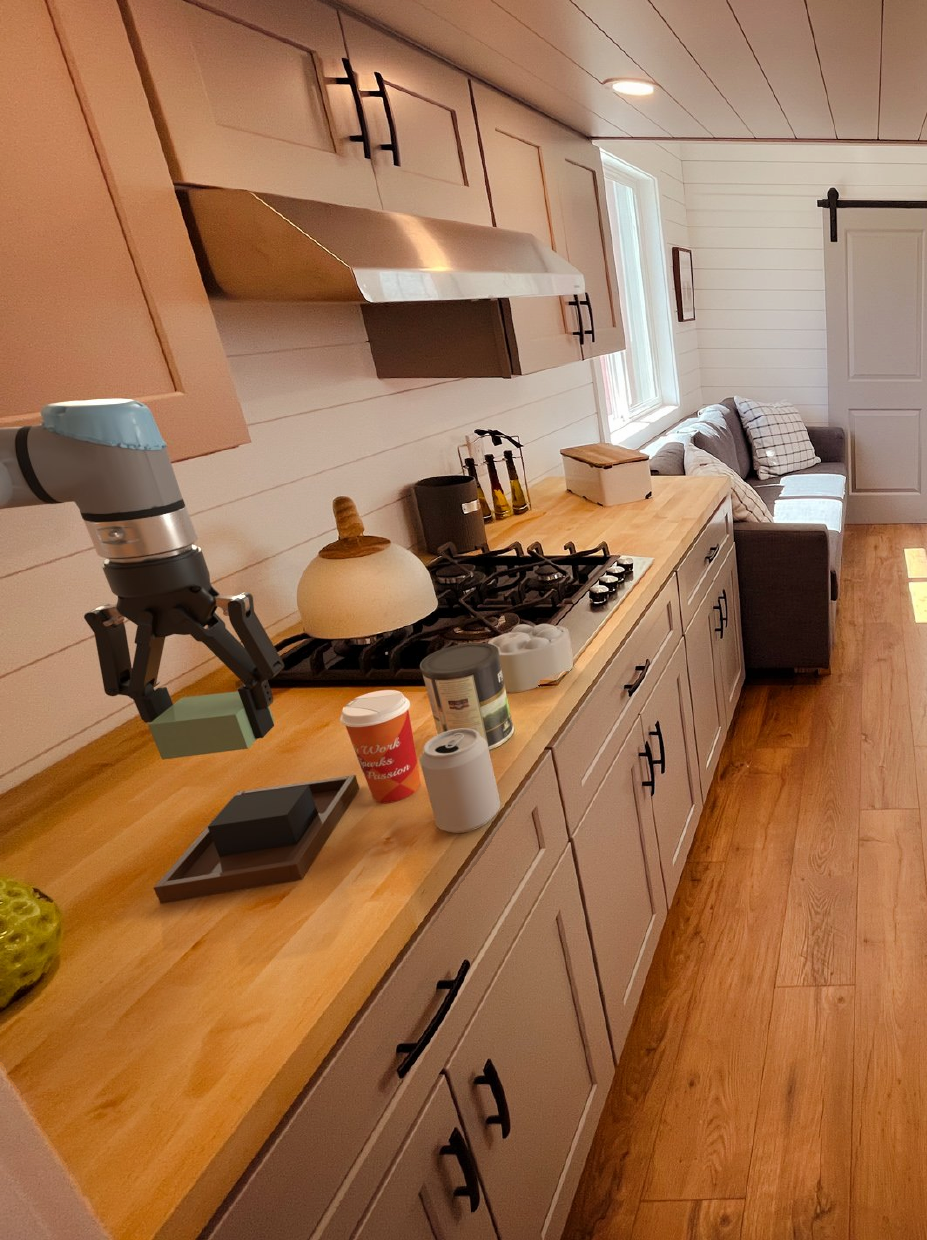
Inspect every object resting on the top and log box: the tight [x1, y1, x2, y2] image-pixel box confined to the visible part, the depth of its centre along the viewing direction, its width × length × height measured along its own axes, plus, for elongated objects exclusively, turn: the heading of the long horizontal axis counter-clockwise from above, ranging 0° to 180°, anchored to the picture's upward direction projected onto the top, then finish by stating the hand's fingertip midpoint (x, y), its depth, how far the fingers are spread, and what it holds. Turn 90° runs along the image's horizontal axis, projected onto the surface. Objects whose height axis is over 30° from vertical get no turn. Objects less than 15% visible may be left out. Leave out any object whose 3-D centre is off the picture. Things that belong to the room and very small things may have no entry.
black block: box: [207, 785, 318, 857], centre depth 90 cm, size 8×6×4 cm
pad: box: [147, 690, 275, 761], centre depth 82 cm, size 8×6×4 cm
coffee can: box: [419, 642, 515, 751], centre depth 110 cm, size 10×10×14 cm
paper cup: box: [339, 689, 421, 804], centre depth 98 cm, size 8×8×14 cm
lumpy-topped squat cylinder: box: [487, 623, 574, 694], centre depth 130 cm, size 10×13×9 cm
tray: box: [153, 774, 360, 904], centre depth 90 cm, size 14×18×2 cm
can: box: [419, 728, 501, 834], centre depth 93 cm, size 8×8×12 cm
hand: (220, 737), depth 83 cm, fingers closed on pad, 8 cm apart
